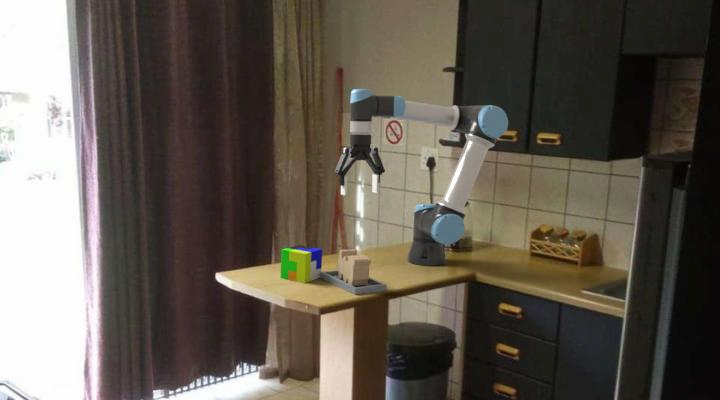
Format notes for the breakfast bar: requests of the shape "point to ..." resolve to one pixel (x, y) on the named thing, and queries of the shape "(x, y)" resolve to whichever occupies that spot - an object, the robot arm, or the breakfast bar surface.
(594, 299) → the breakfast bar surface
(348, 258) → the toy train
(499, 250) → the breakfast bar surface
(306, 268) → the puzzle toy
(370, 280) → the tray
